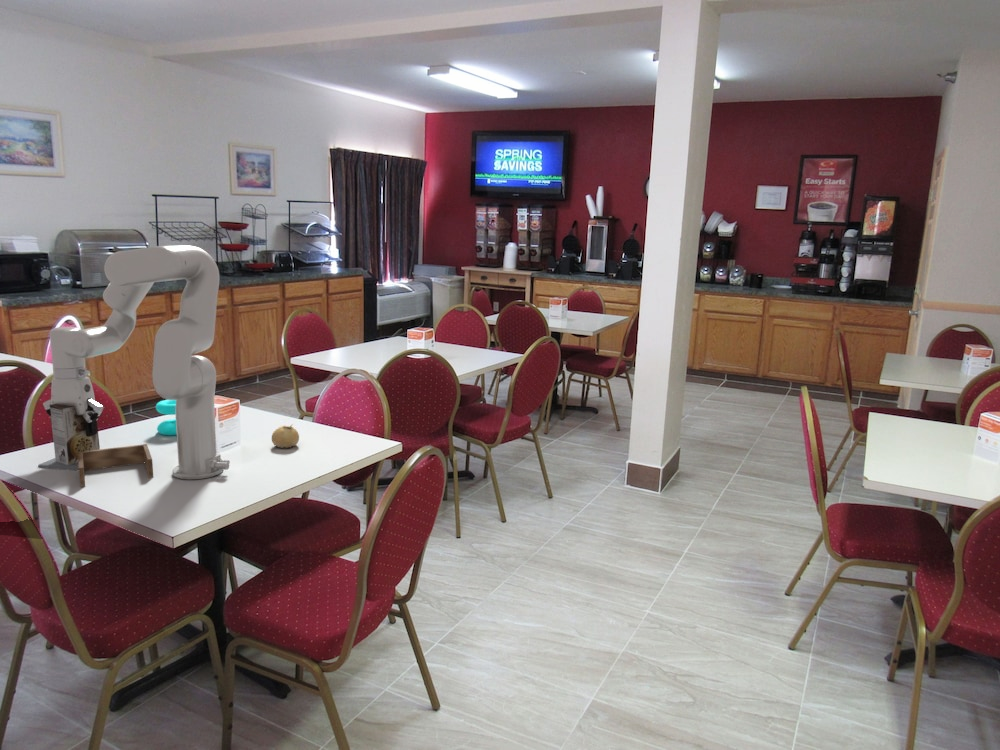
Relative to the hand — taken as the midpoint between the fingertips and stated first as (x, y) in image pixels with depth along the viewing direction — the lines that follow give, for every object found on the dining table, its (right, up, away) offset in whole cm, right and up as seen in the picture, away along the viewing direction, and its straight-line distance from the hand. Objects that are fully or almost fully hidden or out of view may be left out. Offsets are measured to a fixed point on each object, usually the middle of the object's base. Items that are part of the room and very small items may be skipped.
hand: (75, 434), depth 190 cm
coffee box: (0, -7, +1) cm, 7 cm away
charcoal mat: (0, -8, +2) cm, 8 cm away
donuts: (+12, -2, +32) cm, 34 cm away
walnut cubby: (+15, -10, -7) cm, 19 cm away
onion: (+51, -6, +21) cm, 56 cm away
